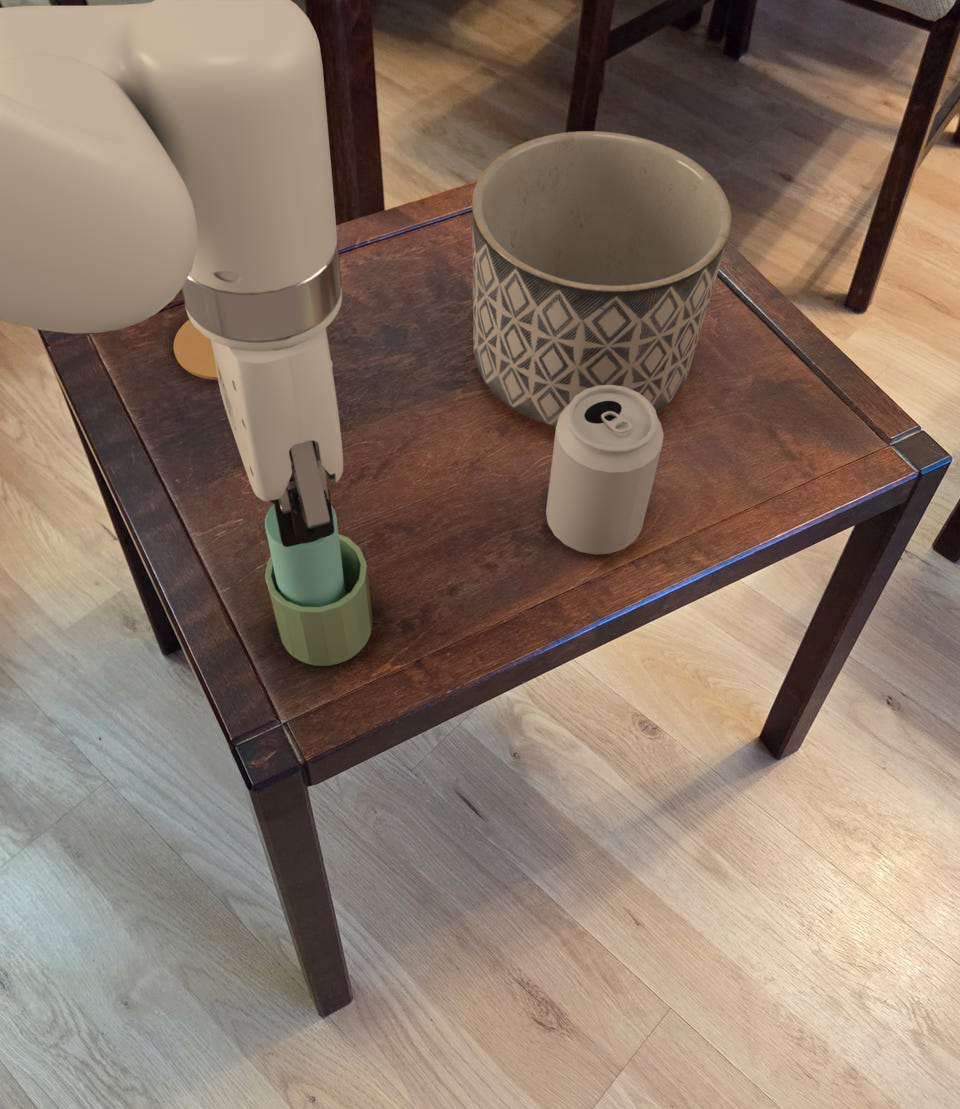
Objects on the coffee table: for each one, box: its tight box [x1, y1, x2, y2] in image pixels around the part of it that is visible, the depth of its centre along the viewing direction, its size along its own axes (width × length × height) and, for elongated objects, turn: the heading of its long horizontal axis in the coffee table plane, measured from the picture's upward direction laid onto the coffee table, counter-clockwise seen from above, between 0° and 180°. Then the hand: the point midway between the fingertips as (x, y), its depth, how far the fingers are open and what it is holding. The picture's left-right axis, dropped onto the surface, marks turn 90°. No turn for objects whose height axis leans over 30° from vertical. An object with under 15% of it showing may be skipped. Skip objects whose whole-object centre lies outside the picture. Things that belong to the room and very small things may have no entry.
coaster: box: [173, 318, 218, 381], centre depth 92 cm, size 9×9×1 cm
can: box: [545, 385, 665, 555], centre depth 77 cm, size 8×8×12 cm
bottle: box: [264, 481, 346, 607], centre depth 67 cm, size 4×4×17 cm
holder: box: [264, 533, 373, 667], centre depth 73 cm, size 7×7×7 cm
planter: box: [471, 130, 732, 428], centre depth 85 cm, size 19×19×16 cm
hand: (299, 513), depth 65 cm, fingers closed on bottle, 3 cm apart
